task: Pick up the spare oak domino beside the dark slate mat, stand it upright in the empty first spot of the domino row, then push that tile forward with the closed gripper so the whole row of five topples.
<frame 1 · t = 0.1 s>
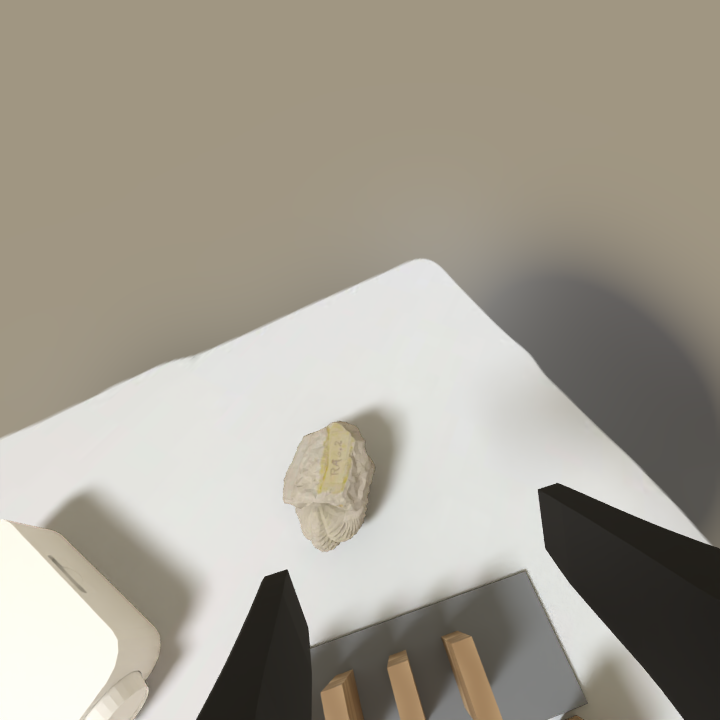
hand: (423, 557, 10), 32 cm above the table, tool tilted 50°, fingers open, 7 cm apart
projector: (19, 685, 36), on the table
domino 4: (351, 708, 32), resting on slate mat
fossil replica: (334, 493, 43), on the table
slate mat: (407, 686, 33), on the table
domino 2: (460, 667, 33), resting on slate mat
domino 3: (407, 687, 33), resting on slate mat
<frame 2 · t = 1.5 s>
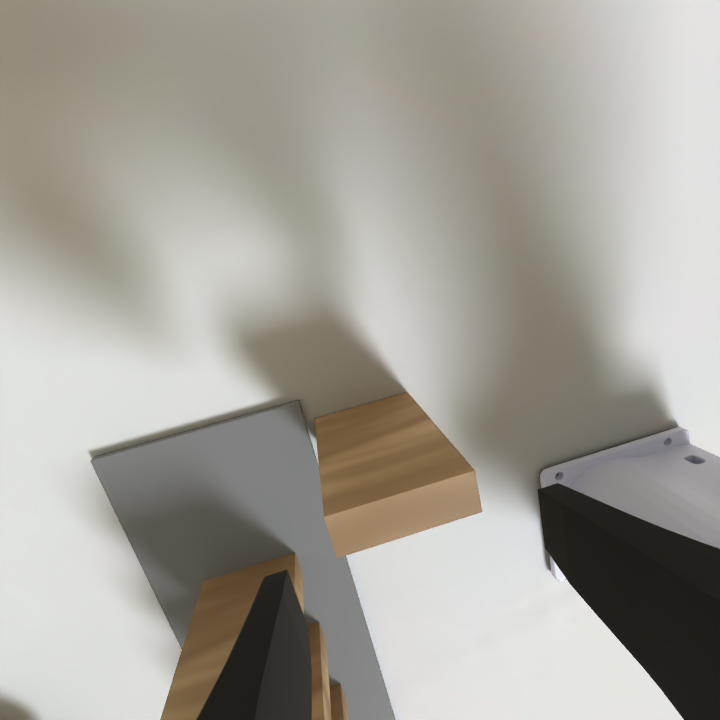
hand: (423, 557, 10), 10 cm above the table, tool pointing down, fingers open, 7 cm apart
domino 1: (364, 418, 20), on the table
domino 4: (304, 706, 23), resting on slate mat
slate mat: (281, 639, 22), on the table
domino 2: (254, 578, 21), resting on slate mat
domino 3: (280, 646, 22), resting on slate mat
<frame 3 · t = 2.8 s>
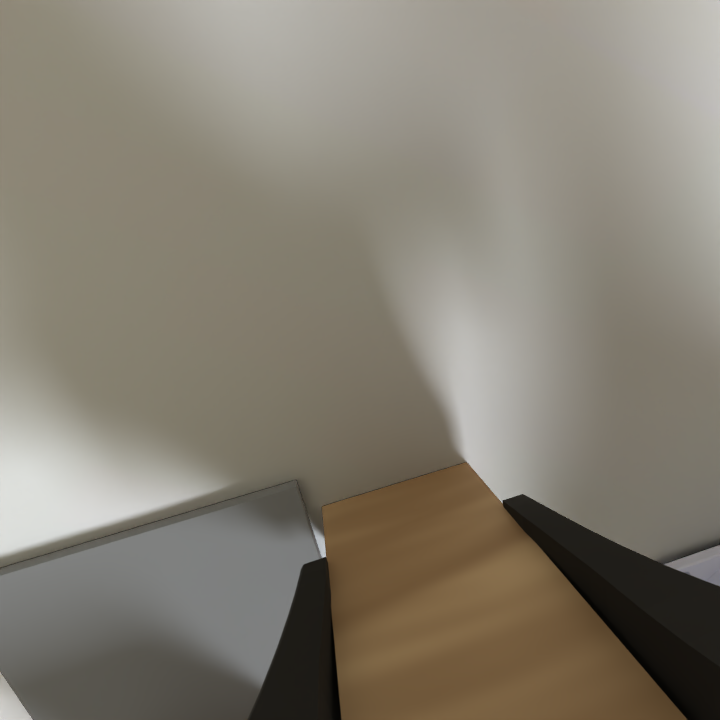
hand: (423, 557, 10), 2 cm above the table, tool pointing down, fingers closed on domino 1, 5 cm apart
domino 1: (400, 504, 13), on the table, touching gripper
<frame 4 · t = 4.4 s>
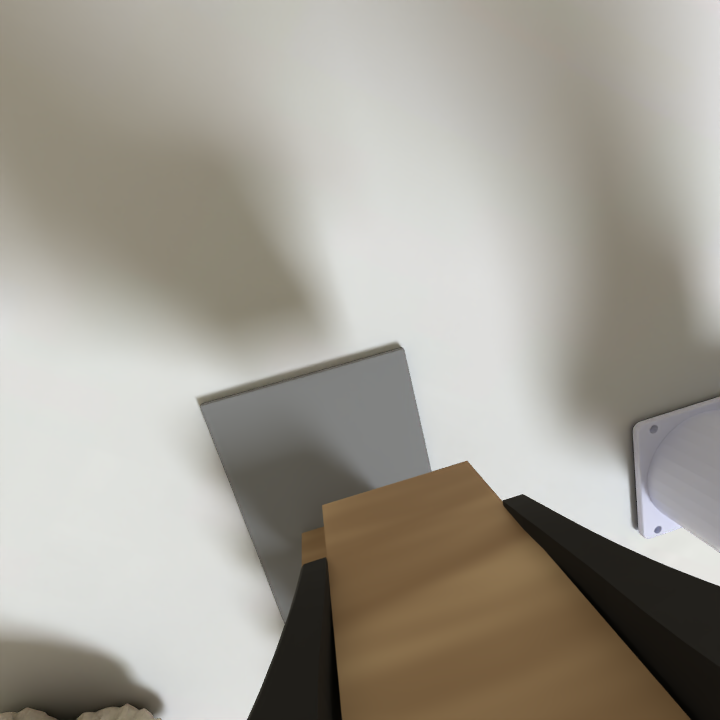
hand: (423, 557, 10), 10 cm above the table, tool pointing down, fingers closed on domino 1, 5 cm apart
domino 1: (400, 502, 13), point 7 cm above the table, touching gripper
slate mat: (371, 596, 22), on the table
domino 2: (351, 531, 20), resting on slate mat
when the fingers open (4 cm above the table, at t = 6.4 s): domino 1 stays where it is, resting on slate mat.
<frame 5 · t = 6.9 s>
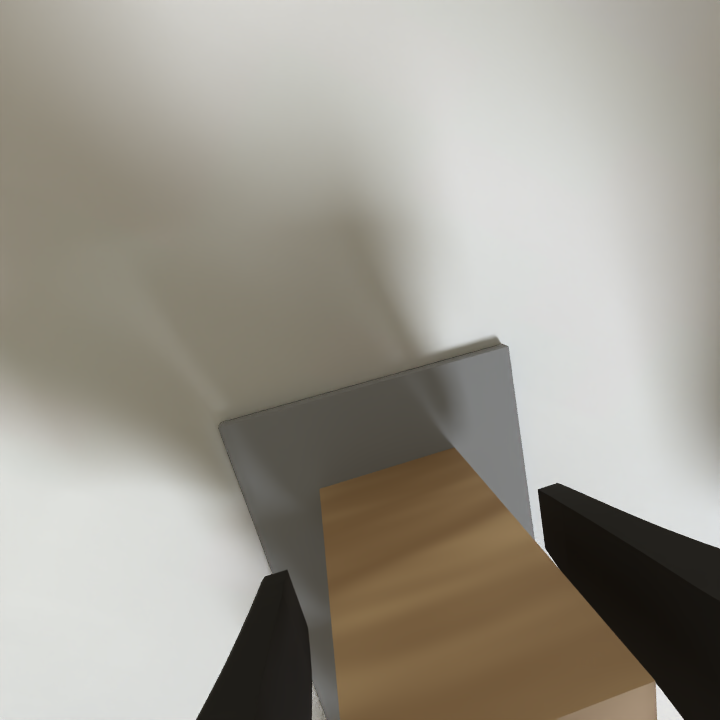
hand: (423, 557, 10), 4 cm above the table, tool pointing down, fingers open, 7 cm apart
domino 1: (392, 486, 14), resting on slate mat
slate mat: (438, 675, 17), on the table
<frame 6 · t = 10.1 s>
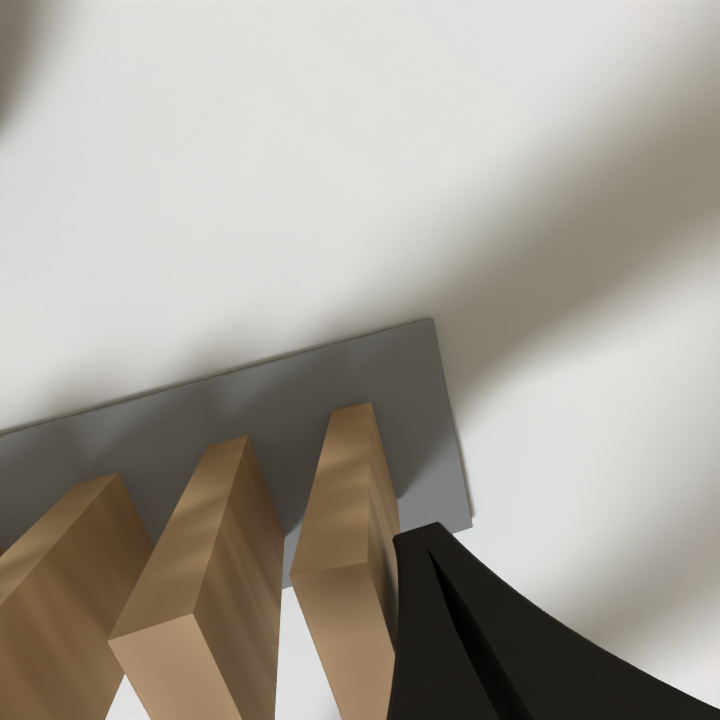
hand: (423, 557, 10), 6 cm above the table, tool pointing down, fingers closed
domino 1: (366, 460, 16), point 1 cm above the table, tilted 11°, touching slate mat
slate mat: (127, 525, 15), on the table
domino 2: (247, 494, 15), resting on slate mat
domino 3: (123, 531, 15), resting on slate mat
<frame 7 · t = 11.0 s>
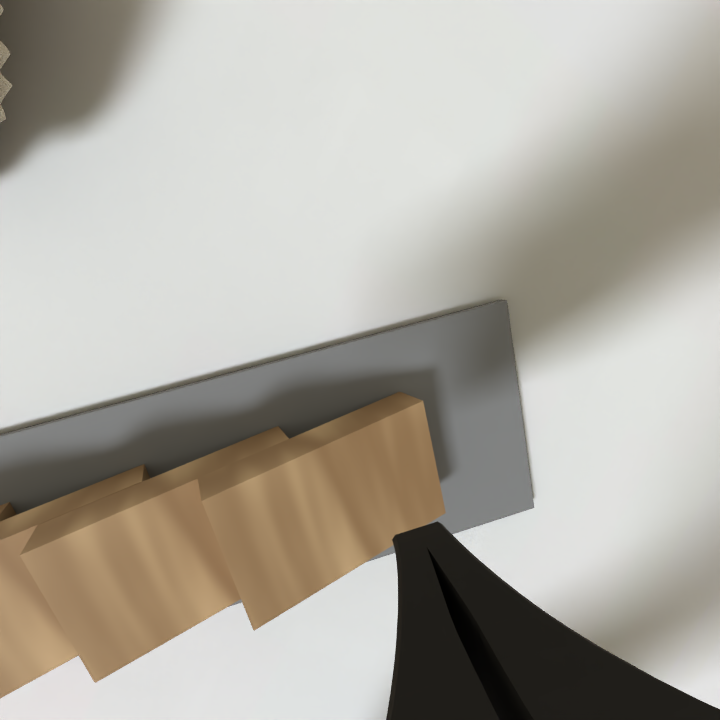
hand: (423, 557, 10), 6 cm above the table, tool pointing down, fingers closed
domino 1: (422, 452, 15), point 1 cm above the table, tilted 72°, touching domino 2, slate mat
slate mat: (204, 501, 16), on the table
domino 2: (301, 488, 15), point 1 cm above the table, tilted 72°, touching domino 1, domino 3, slate mat
domino 3: (168, 528, 15), point 1 cm above the table, tilted 71°, touching domino 2, domino 4, slate mat
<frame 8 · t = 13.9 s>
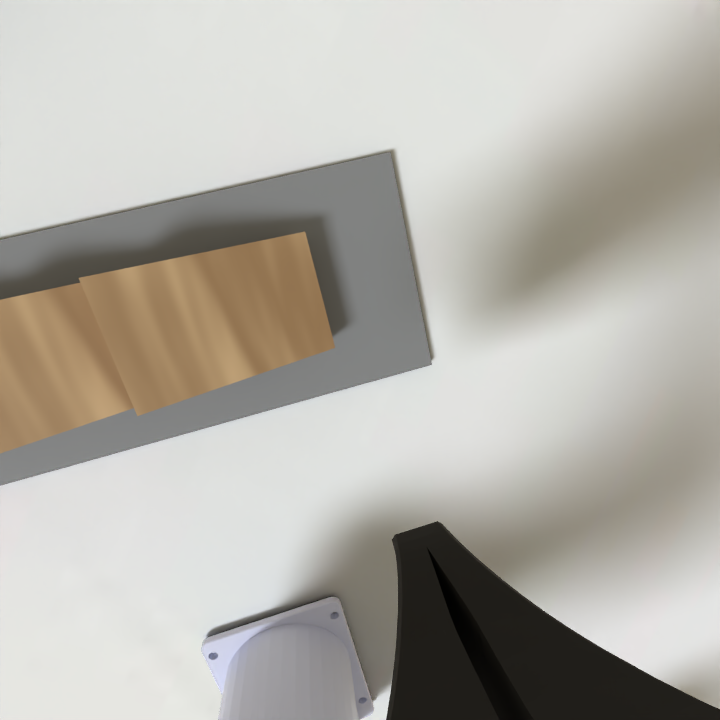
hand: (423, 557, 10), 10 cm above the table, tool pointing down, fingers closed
domino 1: (314, 292, 17), point 1 cm above the table, tilted 72°, touching domino 2, slate mat
slate mat: (115, 341, 17), on the table
domino 2: (200, 321, 16), point 1 cm above the table, tilted 72°, touching domino 1, domino 3, slate mat
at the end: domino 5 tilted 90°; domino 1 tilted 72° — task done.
